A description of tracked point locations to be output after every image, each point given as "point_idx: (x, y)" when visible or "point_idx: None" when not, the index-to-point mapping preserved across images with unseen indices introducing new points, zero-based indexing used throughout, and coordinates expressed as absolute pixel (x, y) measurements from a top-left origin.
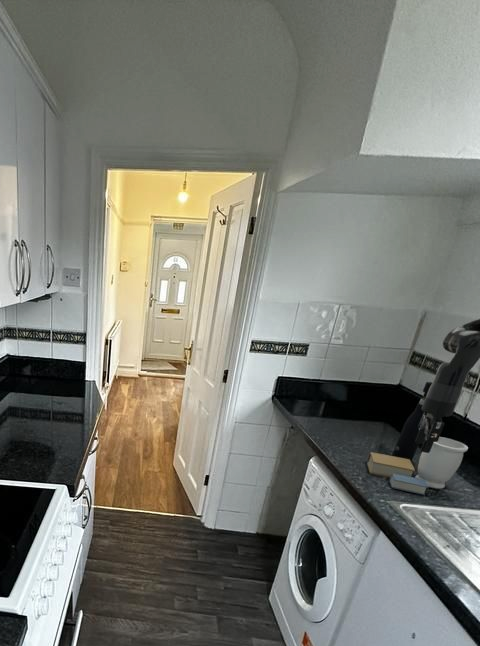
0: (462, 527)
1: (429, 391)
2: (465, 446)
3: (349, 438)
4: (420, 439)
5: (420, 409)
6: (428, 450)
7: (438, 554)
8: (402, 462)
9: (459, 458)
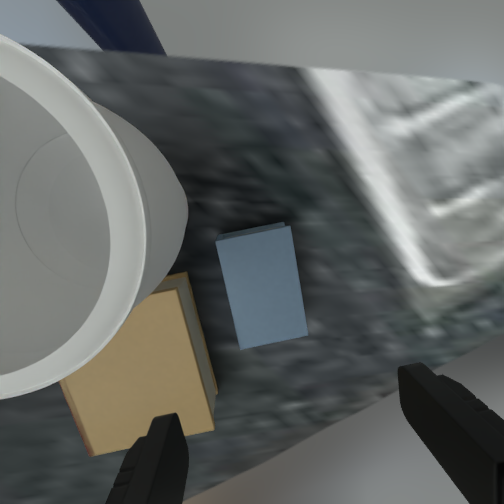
0: (487, 109)
1: None
2: None
3: None
4: (176, 472)
5: None
6: (458, 387)
7: None
8: (115, 340)
9: (100, 108)
